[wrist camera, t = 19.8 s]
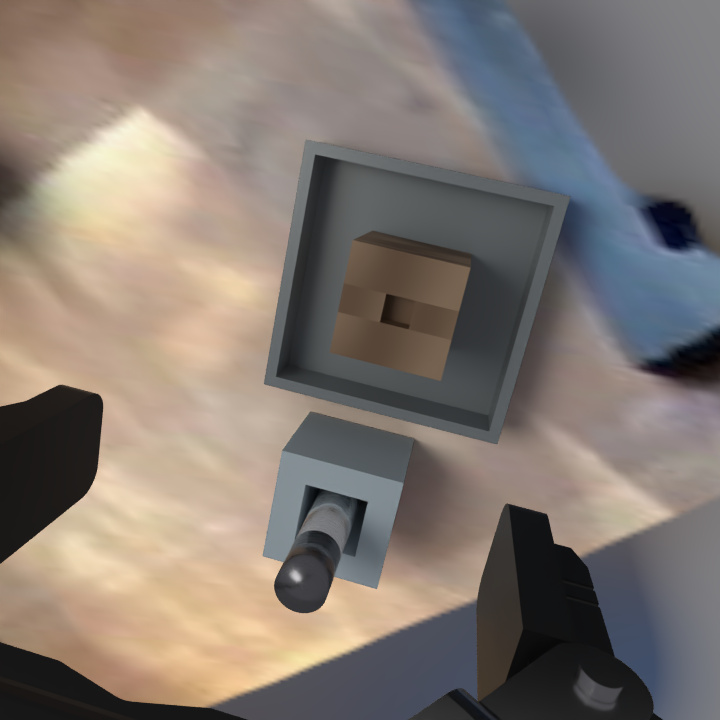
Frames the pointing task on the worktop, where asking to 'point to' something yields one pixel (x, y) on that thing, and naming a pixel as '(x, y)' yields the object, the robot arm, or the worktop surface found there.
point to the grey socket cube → (341, 489)
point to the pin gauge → (316, 552)
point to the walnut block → (400, 303)
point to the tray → (428, 225)
